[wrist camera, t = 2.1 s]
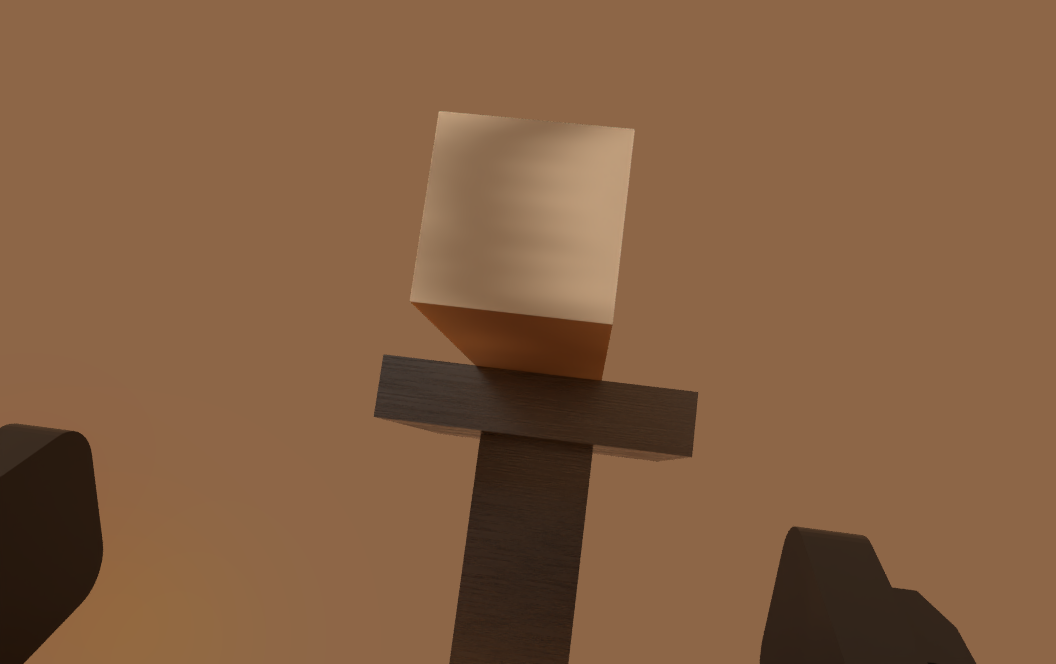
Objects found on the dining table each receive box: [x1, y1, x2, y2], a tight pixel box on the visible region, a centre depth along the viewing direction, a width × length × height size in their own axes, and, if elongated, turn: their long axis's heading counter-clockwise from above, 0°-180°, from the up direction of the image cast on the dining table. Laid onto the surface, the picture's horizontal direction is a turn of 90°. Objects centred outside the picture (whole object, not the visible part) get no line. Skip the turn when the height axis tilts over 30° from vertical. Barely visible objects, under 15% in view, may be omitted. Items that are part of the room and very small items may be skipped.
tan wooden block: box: [410, 111, 635, 381], centre depth 29 cm, size 4×26×8 cm, turn 176°
